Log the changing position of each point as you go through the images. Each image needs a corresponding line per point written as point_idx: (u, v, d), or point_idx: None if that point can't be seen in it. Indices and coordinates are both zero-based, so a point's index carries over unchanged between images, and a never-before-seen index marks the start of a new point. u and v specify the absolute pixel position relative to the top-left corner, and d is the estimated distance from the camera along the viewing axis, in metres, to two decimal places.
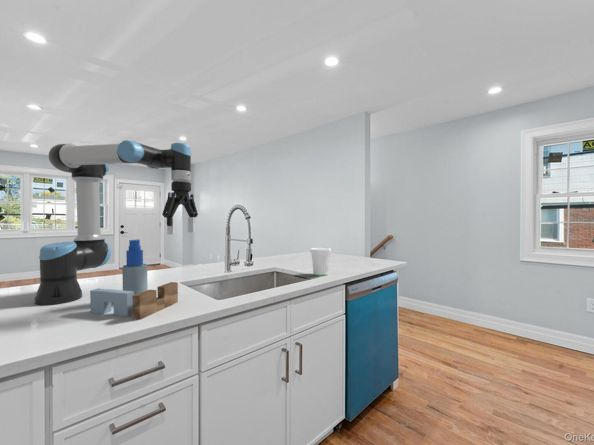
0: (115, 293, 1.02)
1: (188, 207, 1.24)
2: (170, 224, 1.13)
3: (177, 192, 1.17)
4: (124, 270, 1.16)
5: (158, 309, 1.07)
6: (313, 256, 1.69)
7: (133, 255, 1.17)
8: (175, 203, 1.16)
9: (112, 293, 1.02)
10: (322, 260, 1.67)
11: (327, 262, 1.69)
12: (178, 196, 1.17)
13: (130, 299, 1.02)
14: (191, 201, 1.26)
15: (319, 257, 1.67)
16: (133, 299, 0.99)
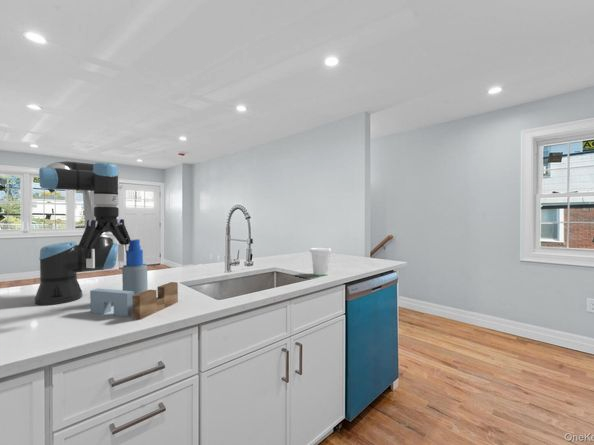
0: (115, 293, 1.02)
1: (117, 234, 1.10)
2: (89, 257, 0.99)
3: (99, 219, 1.02)
4: (124, 270, 1.16)
5: (158, 309, 1.07)
6: (313, 256, 1.69)
7: (133, 255, 1.17)
8: (97, 232, 1.02)
9: (112, 293, 1.02)
10: (322, 260, 1.67)
11: (327, 262, 1.69)
12: (101, 224, 1.03)
13: (130, 299, 1.02)
14: (121, 227, 1.12)
15: (319, 257, 1.67)
16: (133, 299, 0.99)
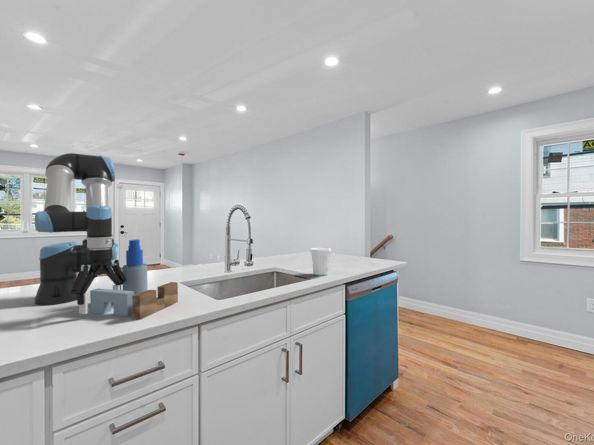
0: (115, 293, 1.02)
1: (111, 275, 1.09)
2: (81, 303, 0.98)
3: (92, 263, 1.01)
4: (124, 270, 1.16)
5: (158, 309, 1.07)
6: (313, 256, 1.69)
7: (133, 255, 1.17)
8: (90, 276, 1.01)
9: (112, 293, 1.02)
10: (322, 260, 1.67)
11: (327, 262, 1.69)
12: (94, 267, 1.02)
13: (130, 299, 1.02)
14: (116, 267, 1.11)
15: (319, 257, 1.67)
16: (133, 299, 0.99)
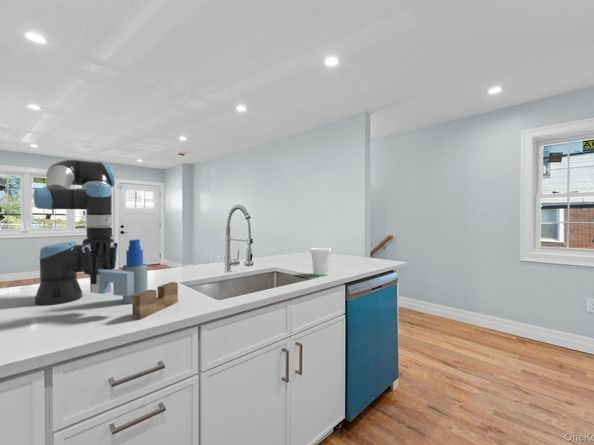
0: (115, 273, 1.02)
1: (105, 257, 1.07)
2: (94, 282, 1.03)
3: (91, 242, 1.01)
4: (124, 270, 1.16)
5: (158, 309, 1.07)
6: (313, 256, 1.69)
7: (133, 255, 1.17)
8: (94, 256, 1.03)
9: (112, 273, 1.03)
10: (322, 260, 1.67)
11: (327, 262, 1.69)
12: (94, 245, 1.02)
13: (130, 279, 1.03)
14: (112, 250, 1.10)
15: (319, 257, 1.67)
16: (133, 299, 0.99)
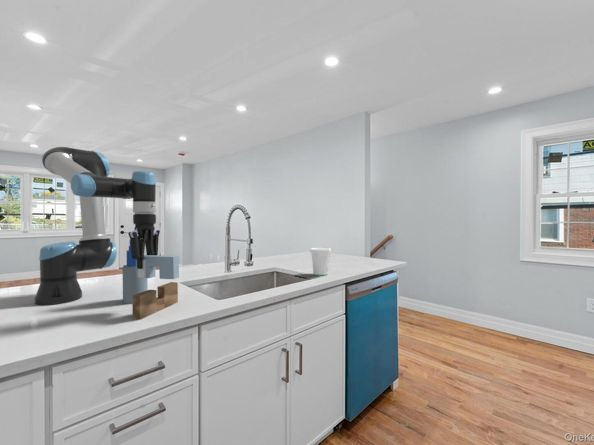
0: (161, 257, 1.05)
1: (149, 243, 1.10)
2: (141, 267, 1.06)
3: (138, 227, 1.04)
4: (124, 270, 1.16)
5: (158, 309, 1.07)
6: (313, 256, 1.69)
7: None
8: (140, 241, 1.06)
9: (158, 257, 1.06)
10: (322, 260, 1.67)
11: (327, 262, 1.69)
12: (141, 231, 1.05)
13: (175, 263, 1.06)
14: (155, 237, 1.13)
15: (319, 257, 1.67)
16: (133, 299, 0.99)
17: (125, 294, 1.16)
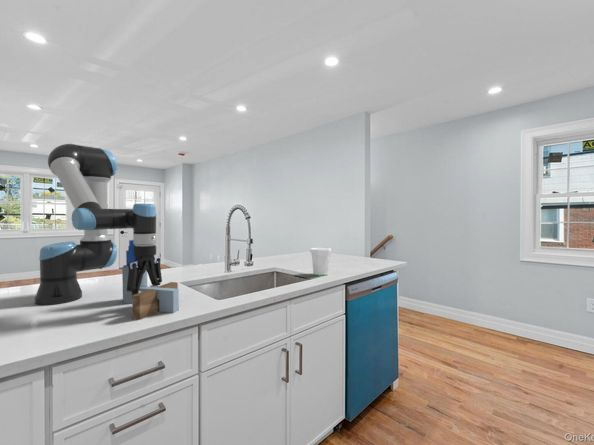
0: (161, 290, 1.06)
1: (151, 273, 1.12)
2: None
3: (138, 259, 1.05)
4: (124, 270, 1.16)
5: (158, 309, 1.07)
6: (313, 256, 1.69)
7: (133, 255, 1.17)
8: (139, 273, 1.06)
9: (158, 290, 1.06)
10: (322, 260, 1.67)
11: (327, 262, 1.69)
12: (141, 263, 1.06)
13: (175, 296, 1.06)
14: (156, 265, 1.14)
15: (319, 257, 1.67)
16: (133, 299, 0.99)
17: (125, 294, 1.16)
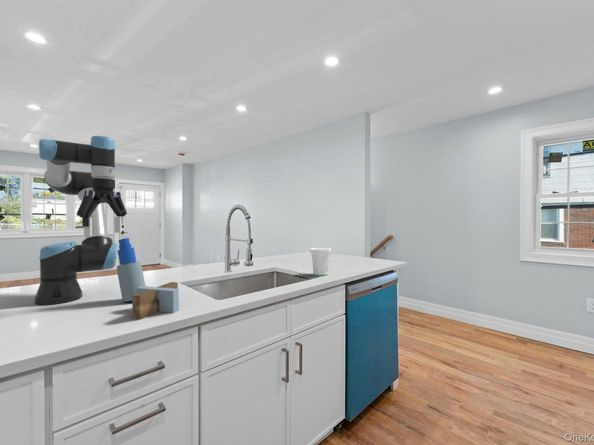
0: (161, 290, 1.06)
1: (113, 206, 1.15)
2: (86, 225, 1.04)
3: (97, 190, 1.07)
4: (118, 269, 1.16)
5: (158, 309, 1.07)
6: (313, 256, 1.69)
7: (124, 253, 1.17)
8: (94, 202, 1.07)
9: (158, 290, 1.06)
10: (322, 260, 1.67)
11: (327, 262, 1.69)
12: (98, 194, 1.08)
13: (175, 296, 1.06)
14: (118, 199, 1.17)
15: (319, 257, 1.67)
16: (133, 299, 0.99)
17: (123, 292, 1.16)
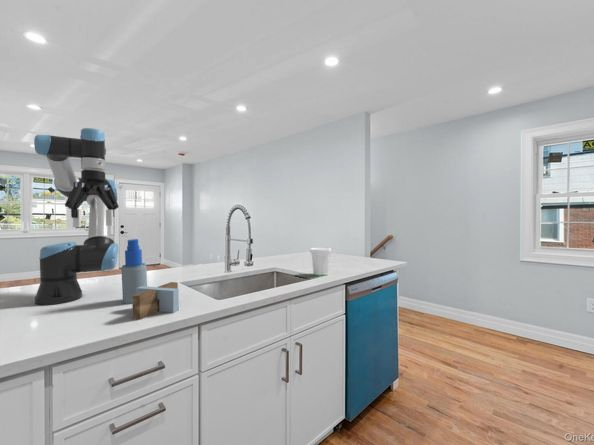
0: (161, 290, 1.06)
1: (104, 198, 1.15)
2: (75, 216, 1.04)
3: (86, 181, 1.07)
4: (123, 270, 1.15)
5: (158, 309, 1.07)
6: (313, 256, 1.69)
7: (132, 255, 1.16)
8: (83, 193, 1.07)
9: (158, 290, 1.06)
10: (322, 260, 1.67)
11: (327, 262, 1.69)
12: (87, 186, 1.08)
13: (175, 296, 1.06)
14: (109, 192, 1.17)
15: (319, 257, 1.67)
16: (133, 299, 0.99)
17: (125, 294, 1.16)
